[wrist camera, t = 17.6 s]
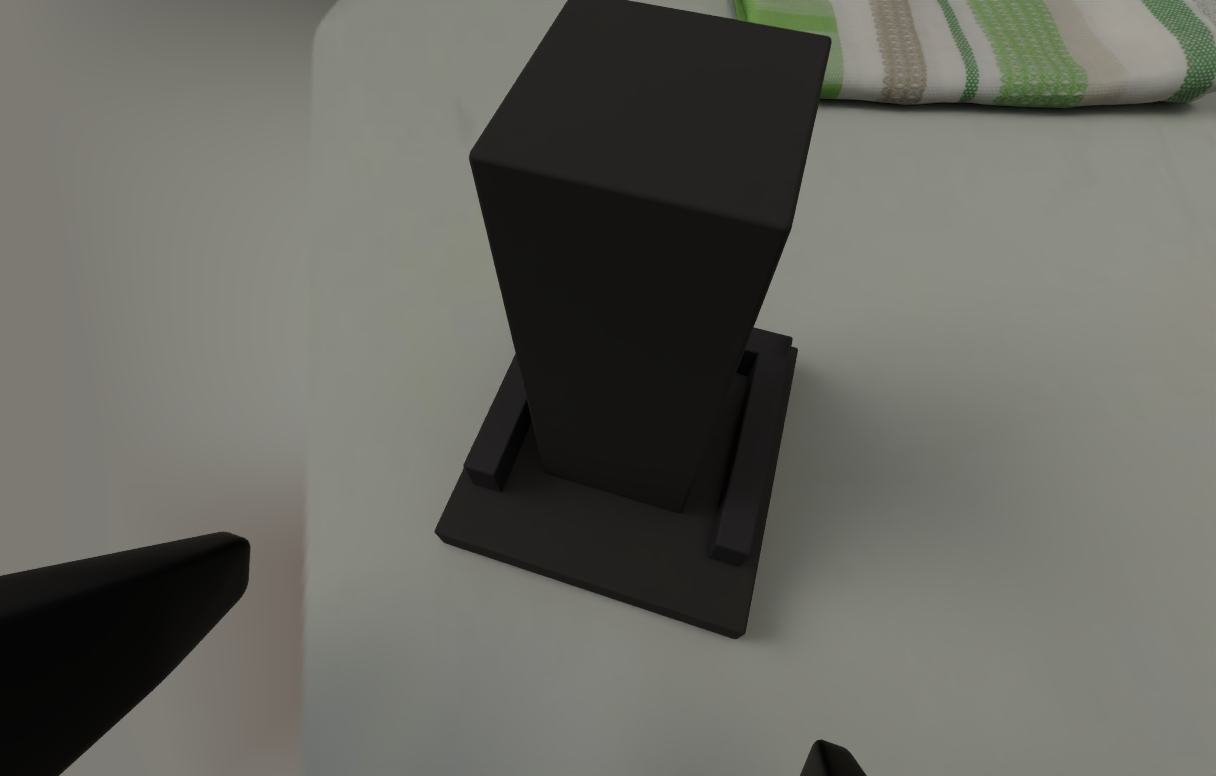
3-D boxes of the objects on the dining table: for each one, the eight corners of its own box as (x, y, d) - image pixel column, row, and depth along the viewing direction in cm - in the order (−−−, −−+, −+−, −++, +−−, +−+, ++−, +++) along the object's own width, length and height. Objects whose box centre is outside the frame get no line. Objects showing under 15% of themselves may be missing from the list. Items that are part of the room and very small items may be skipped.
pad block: (681, 515, 18) (792, 228, 7) (543, 473, 18) (465, 154, 8) (713, 392, 20) (834, 34, 10) (588, 358, 21) (572, -12, 10)
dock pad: (736, 640, 17) (757, 627, 15) (442, 542, 19) (419, 516, 16) (789, 365, 22) (811, 322, 20) (551, 303, 23) (545, 256, 21)
